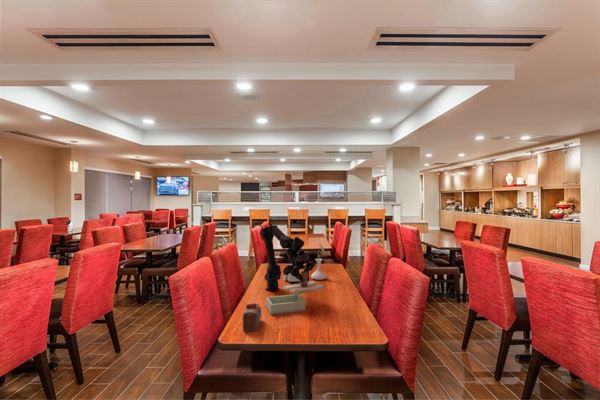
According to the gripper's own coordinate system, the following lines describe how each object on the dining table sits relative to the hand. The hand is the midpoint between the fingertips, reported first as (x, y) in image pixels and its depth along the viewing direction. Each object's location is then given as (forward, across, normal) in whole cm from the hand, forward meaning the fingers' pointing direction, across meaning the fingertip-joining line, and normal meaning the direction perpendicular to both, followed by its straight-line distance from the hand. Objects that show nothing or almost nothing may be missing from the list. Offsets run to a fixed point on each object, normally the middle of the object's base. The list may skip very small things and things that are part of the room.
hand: (305, 281), depth 164 cm
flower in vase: (-17, +40, +37) cm, 57 cm away
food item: (+13, -34, +6) cm, 37 cm away
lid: (+2, 0, +4) cm, 4 cm away
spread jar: (-21, +20, +40) cm, 50 cm away
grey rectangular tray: (+7, -11, +12) cm, 18 cm away
